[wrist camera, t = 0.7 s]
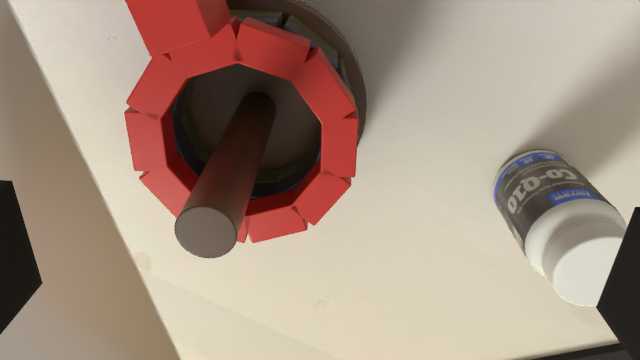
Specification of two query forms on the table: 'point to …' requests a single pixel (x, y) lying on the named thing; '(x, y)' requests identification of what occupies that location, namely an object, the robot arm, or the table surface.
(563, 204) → the pill bottle
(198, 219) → the ring stand
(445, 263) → the table surface
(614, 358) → the rubber mat
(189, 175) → the red ring
